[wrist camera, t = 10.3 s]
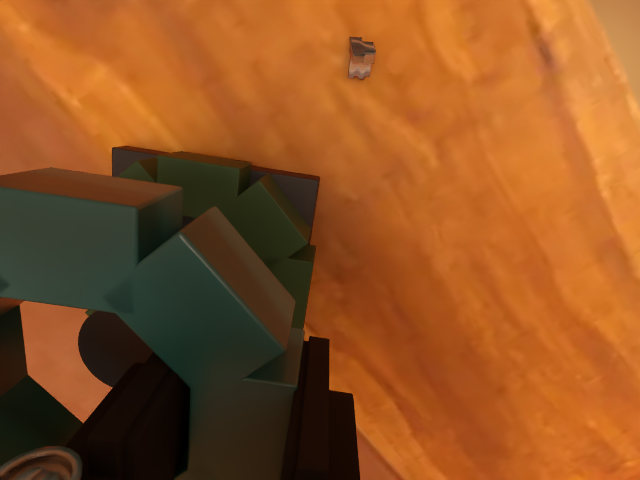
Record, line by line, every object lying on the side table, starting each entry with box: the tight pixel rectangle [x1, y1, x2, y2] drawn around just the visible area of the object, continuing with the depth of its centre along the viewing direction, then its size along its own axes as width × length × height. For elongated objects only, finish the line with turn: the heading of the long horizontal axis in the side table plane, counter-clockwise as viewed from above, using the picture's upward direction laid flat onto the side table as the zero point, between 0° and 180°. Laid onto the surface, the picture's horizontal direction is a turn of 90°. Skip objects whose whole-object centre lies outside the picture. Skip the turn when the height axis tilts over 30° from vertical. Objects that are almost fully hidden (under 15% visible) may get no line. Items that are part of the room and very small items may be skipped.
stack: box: [78, 146, 320, 387], centre depth 14 cm, size 10×10×8 cm
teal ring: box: [0, 168, 305, 480], centre depth 9 cm, size 10×10×2 cm
